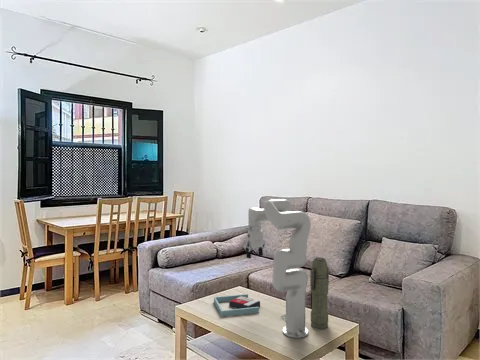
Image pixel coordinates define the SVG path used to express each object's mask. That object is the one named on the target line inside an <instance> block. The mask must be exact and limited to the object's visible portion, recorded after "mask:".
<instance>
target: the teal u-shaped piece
mask: <svg viewBox="0 0 480 360" xmlns="http://www.w3.org/2000/svg"><path fill="white" fill-rule="evenodd" d="M240 296H242V297H247V298H249V294H248V293H243V294H233V295H223V296H213V303H214V305H215V306H216V309H217V310H218V313H219V315H220V316H221V317H230V316H238V315H239V316H240V315H247V314H248V315H249V314H258V313H260V311H259V310H260V309H259V308H260V307H252V308H242V309H237V308H233V309H225V310H223V309H222V307H221V305H220V303H222V302H223V303H225V302H230V301H231V300H233V299H236V298H238V297H240Z"/></svg>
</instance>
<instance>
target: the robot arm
mask: <svg viewBox="0 0 480 360" xmlns="http://www.w3.org/2000/svg"><path fill="white" fill-rule="evenodd" d="M292 209H293V205H292V203H291V201H290V200H288V199H284V198H282V199H279V198H277V199H268V200H266V201H265V203H264V205H263V208H260V207H250V208H248V215H247V216H248V227H247V230H248V231H247V234H246V242H245V243H243V245H242V247H243V250H245V252H246V253H245V254H246V259H249V260H250V259H251V258H252V252H251V251H252V250H253V249H258V250H257V251H258V252H257V254H258V256H261V257H262V256H264V255H263V253H264V252H263V251H264V250H263V249H264V247H265V245H266V240H265V239H264V234H263V230H262V223H264V222H270V223H271V224H272V226H273V227H275V229H277V230H283V231H284V230H294V229H295V230H294V231H293V232H292V234H291V236H290V238H289V246H288V248H282V249H278V250H277V251H276V252H274V256H273V264H272V265H273V266H272V285H273V288H274V289H275V290H276V291H278V292H287V293H286V295H285V314H286V320H285V321H286V322H285V326H284V327H283V328H282V333H283V334H284V335H285V336H286V337H289V338H294V339H301V338H305V337H307V336H309V329H308V328H307V327H306V293H307V292H306V291H307V288H308V287H307V285H308V279H309V278H308V274H307V272H306V271H305V270H304V269H302V268H301V267H304V266H305V265H306V261H307V254H308V253H307V251H308V242H309V241H308V240H309V235H310V232H311V219H310V216H309V215H308V214H307V213H306V212H305V211H299V210H292Z"/></svg>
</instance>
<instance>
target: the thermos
mask: <svg viewBox="0 0 480 360" xmlns="http://www.w3.org/2000/svg"><path fill="white" fill-rule="evenodd" d="M329 269H330V268H329V267H328V262H327V259H326V258H323V257H321V256H320V257H315V258H313V261H312V263H311V269H310V276H309V277H310V293H311V310H310V327H312V328H313V329H316V330H326V329H328V327H329V311H328V294H329V285H330V282H329V279H330V278H329V277H330V274H329V272H330V270H329Z"/></svg>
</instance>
